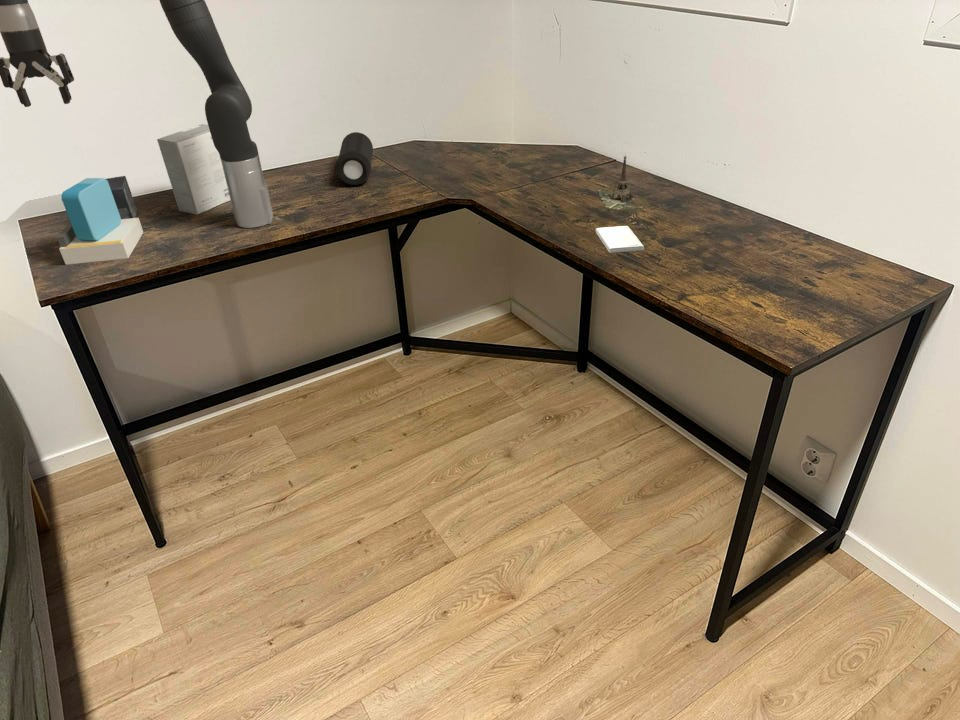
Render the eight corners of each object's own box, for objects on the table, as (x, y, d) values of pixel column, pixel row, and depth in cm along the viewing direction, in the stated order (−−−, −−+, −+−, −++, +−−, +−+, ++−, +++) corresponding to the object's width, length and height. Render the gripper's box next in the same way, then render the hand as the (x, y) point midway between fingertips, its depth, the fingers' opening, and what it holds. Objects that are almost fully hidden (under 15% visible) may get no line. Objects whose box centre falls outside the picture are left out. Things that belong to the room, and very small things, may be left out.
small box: (113, 215, 183) (99, 178, 178) (138, 212, 185) (126, 174, 179) (110, 230, 175) (95, 191, 169) (136, 225, 177) (123, 187, 171)
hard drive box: (221, 193, 196) (203, 123, 185) (239, 197, 193) (222, 126, 182) (177, 211, 185) (155, 138, 174) (196, 215, 182) (175, 141, 170)
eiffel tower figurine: (596, 192, 188) (599, 144, 181) (631, 190, 189) (636, 142, 181) (605, 212, 176) (609, 161, 169) (644, 210, 176) (649, 160, 169)
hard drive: (644, 245, 154) (628, 224, 165) (609, 248, 154) (595, 227, 164) (643, 252, 155) (627, 231, 166) (609, 255, 155) (595, 233, 165)
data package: (106, 222, 168) (88, 176, 162) (123, 223, 168) (106, 176, 161) (78, 242, 158) (58, 193, 152) (96, 242, 158) (77, 193, 151)
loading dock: (143, 232, 173) (135, 208, 169) (128, 258, 160) (119, 232, 156) (85, 237, 171) (76, 213, 167) (65, 264, 158) (55, 239, 154)
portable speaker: (344, 162, 217) (339, 130, 212) (375, 160, 218) (371, 129, 212) (338, 189, 196) (333, 155, 190) (372, 187, 197) (368, 153, 191)
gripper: (59, 23, 150) (85, 98, 159) (-10, 27, 148) (21, 103, 157) (47, 27, 144) (75, 106, 153) (-25, 31, 142) (8, 111, 151)
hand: (47, 104), depth 155 cm, fingers open, 8 cm apart
